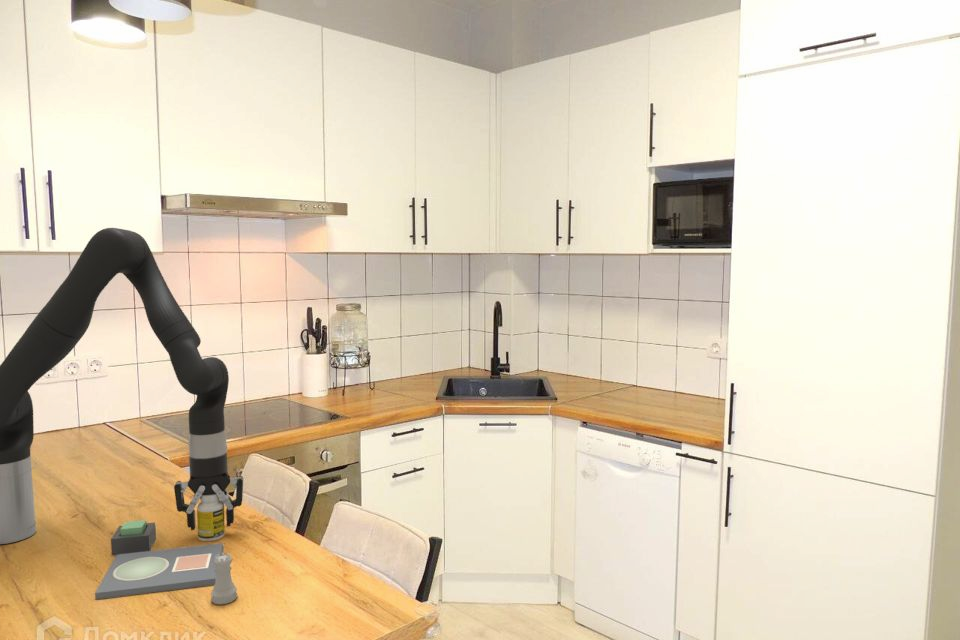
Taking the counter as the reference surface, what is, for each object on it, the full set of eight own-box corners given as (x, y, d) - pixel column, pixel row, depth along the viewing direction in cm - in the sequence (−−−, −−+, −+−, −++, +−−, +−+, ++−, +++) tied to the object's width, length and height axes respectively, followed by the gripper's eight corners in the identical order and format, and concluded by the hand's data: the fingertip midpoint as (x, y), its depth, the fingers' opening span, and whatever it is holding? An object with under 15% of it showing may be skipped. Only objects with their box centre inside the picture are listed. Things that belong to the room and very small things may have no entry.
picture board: (95, 599, 121) (94, 592, 121) (117, 560, 136) (116, 553, 136) (215, 584, 126) (215, 577, 126) (223, 548, 142) (223, 542, 142)
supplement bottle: (215, 543, 145) (213, 498, 144) (192, 540, 146) (190, 496, 145) (230, 532, 150) (228, 489, 149) (207, 530, 151) (205, 487, 150)
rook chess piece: (215, 593, 123) (213, 550, 122) (240, 592, 124) (238, 550, 123) (207, 606, 119) (205, 562, 118) (233, 605, 119) (232, 561, 118)
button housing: (111, 555, 138) (110, 539, 138) (120, 541, 145) (119, 525, 145) (149, 551, 140) (148, 535, 140) (155, 538, 147) (155, 522, 147)
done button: (121, 540, 140) (120, 529, 140) (125, 532, 144) (124, 521, 144) (142, 538, 141) (141, 527, 141) (146, 530, 145) (145, 519, 145)
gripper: (168, 459, 140) (172, 537, 142) (242, 454, 144) (245, 530, 146) (174, 449, 147) (178, 523, 149) (244, 444, 151) (247, 516, 153)
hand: (211, 526), depth 147 cm, fingers open, 6 cm apart
